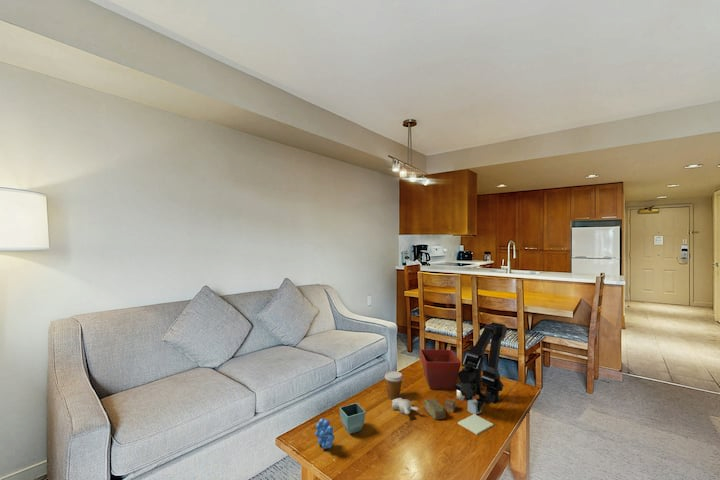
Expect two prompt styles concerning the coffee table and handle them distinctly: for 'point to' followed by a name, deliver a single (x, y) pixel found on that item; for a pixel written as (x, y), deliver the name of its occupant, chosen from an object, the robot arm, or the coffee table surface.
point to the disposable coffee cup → (393, 384)
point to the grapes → (324, 433)
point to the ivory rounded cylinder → (460, 395)
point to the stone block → (434, 409)
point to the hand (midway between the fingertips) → (474, 409)
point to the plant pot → (440, 368)
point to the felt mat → (475, 424)
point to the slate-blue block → (473, 406)
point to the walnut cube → (450, 405)
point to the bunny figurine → (403, 405)
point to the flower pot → (352, 417)
